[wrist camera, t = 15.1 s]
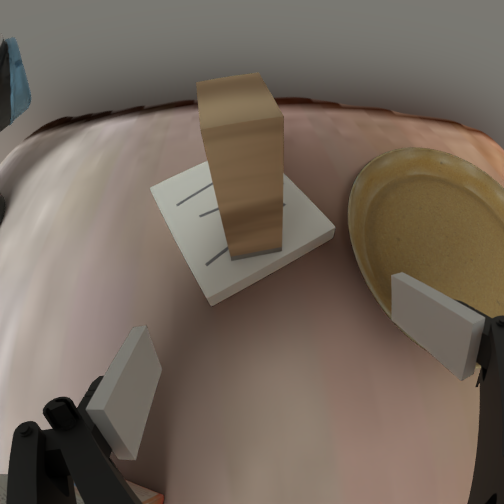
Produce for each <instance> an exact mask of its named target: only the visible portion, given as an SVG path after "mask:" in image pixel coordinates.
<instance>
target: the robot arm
mask: <svg viewBox="0 0 504 504" xmlns="http://www.w3.org/2000/svg"><path fill="white" fill-rule="evenodd" d="M30 103H31V92H30V88H29V84H28V80H27V77H26V73H25V69H24V66H23V64H22V59H21V55H20V51H19V48H18V44H17V41H16V39H15V38H13V37H12V38H10V39H6V40H5V41H4V39H3V36H2V35H1V33H0V132H1V131H2V130H3V129H5V128H6V127H7V126H8V125H11V124H12V123H13V121H14V120H15V119H16V118H17V117H19V116H20V115H21V114H22V113H23V112H25V111H26V110H27V109H28V107H29V105H30ZM4 210H5V199H4V197H3V196H2V195H1V194H0V223H1V220H2V217H3V214H4ZM391 288H392V318H391V320H392V321H393V322H394V323H396V324H397V325H398V326H399V327H400V328H401V329H403V330H404V331H405V332H406V333H407V334H408V335H410V336H411V337H412V338H413V339H414V340H415V341H417V342H418V343H419V344H420V345H421V346H422V347H423V348H425V349H426V350H427V351H428V352H429V353H430V354H431V355H433V356H434V357H435V358H436V359H437V360H438V361H439V362H441V363H442V364H443V365H444V366H445V367H446V368H447V369H448V370H450V371H451V372H452V373H453V374H454V375H455V376H456V377H457V378H458V379H459V380H461V381H462V380H464V379H466V378H467V377H469V376H471V375H473V374H474V370H475V366H476V362H477V363H478V364H479V365H481V370H480V373H479V377H478V380H477V384H476V387H478V385H479V383H480V415H479V432H478V444H477V453H476V461H475V468H474V474H473V480H472V486H471V491H470V496H469V500H468V503H467V504H504V315H501V316H496V317H494V318H491V317H489V316H487V315H486V314H484V313H482V312H480V311H479V310H477V309H476V310H475V308H473V307H471V306H469V305H468V304H466V303H464V302H462V301H459V300H455V299H452V298H450V297H448V296H446V295H444V294H443V293H441V292H439V291H437V290H435V289H433V288H432V287H430V286H428V285H426V284H424V283H422V282H420V281H418V280H417V279H415V278H413V277H411V276H409V275H407V274H405V273H403V272H401V273H397V274H394V275H391ZM161 372H162V367H161V365H160V362H159V359H158V357H157V354H156V351H155V348H154V346H153V343H152V340H151V337H150V334H149V331H148V328H147V325H146V326H139V327H133V329H132V330H131V332H130V333H129V335H128V337H127V338H126V340H125V342H124V343H123V345H122V347H121V348H120V350H119V352H118V353H117V355H116V357H115V358H114V360H113V362H112V363H111V365H110V367H109V368H108V370H107V372H106V374H105V375H104V376H99V377H98V378H97V379H96V380H95V381H93V382H92V384H91V385H90V387H89V389H88V391H87V392H86V394H85V395H84V396H85V397H83V399H82V400H81V402H80V404H79V406H78V407H77V408H76V406H75V405H74V403H73V401H72V400H71V399H70V398H68V397H58V398H55V399H53V400H51V401H50V402H48V403H47V404H46V405H45V407H44V409H43V415H44V416H45V418H46V419H47V421H48V422H49V424H50V425H51V427H52V428H53V429H48V430H41V429H40V427H39V426H38V424H37V423H36V422H33V421H28V422H25V423H22V424H21V425H19V426H18V427H17V428H16V429H15V431H14V434H13V440H12V446H11V453H10V461H9V470H8V480H7V496H6V504H77V501H76V495H75V488H74V483H75V485H76V487H77V489H78V492H79V494H80V496H81V498H82V500H83V502H84V504H143V503H142V502H141V501H140V499H139V498H138V497H137V496H136V494H135V493H134V492H133V490H132V489H131V488H130V486H129V485H128V483H127V482H126V481H125V479H124V478H123V476H122V475H121V473H120V472H119V470H118V469H117V468H116V466H115V464H114V463H113V462H112V460H111V459H110V458H109V457H110V454H111V452H112V451H113V452H114V454H115V455H116V457H117V458H118V459H120V460H136V457H137V454H138V450H139V446H140V443H141V439H142V435H143V432H144V428H145V425H146V421H147V418H148V414H149V411H150V408H151V404H152V401H153V398H154V394H155V391H156V388H157V384H158V381H159V378H160V375H161Z"/></svg>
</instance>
